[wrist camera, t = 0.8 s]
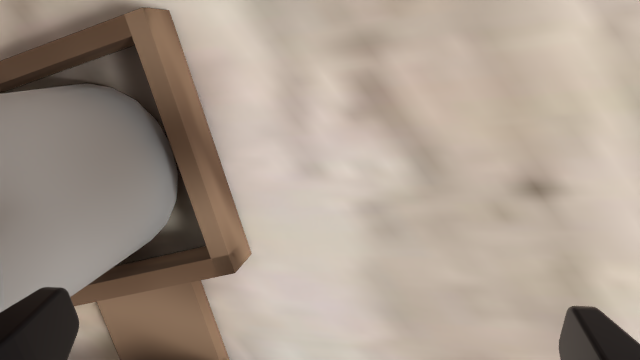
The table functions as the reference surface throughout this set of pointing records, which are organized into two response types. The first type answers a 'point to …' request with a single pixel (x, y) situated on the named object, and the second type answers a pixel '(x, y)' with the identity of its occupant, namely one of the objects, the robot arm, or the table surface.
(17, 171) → the can
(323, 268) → the table surface
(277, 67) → the table surface
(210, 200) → the wooden frame
